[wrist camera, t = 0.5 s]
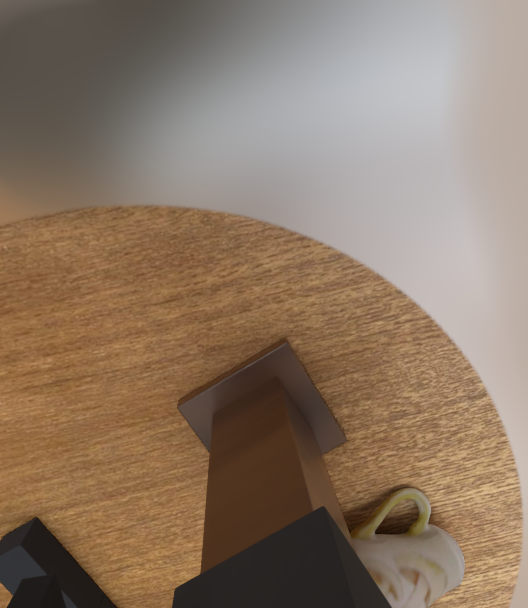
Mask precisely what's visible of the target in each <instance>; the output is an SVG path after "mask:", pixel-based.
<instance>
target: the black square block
mask: <svg viewBox="0 0 528 608" xmlns="http://www.w3.org/2000/svg"><path fill="white" fill-rule="evenodd" d="M172 608H392V607H391V605H390V604H389V602H388V601H387V599H386V598H385V596H384V595H383V593H382V592H381V590H380V589H379V587H378V586H377V584H376V583H375V581H374V580H373V578H372V577H371V575H370V574H369V572H368V571H367V569H366V568H365V566H364V565H363V563H362V562H361V560H360V559H359V557H358V556H357V554H356V553H355V551H354V550H353V548H352V547H351V545H350V544H349V542H348V541H347V539H346V538H345V536H344V535H343V533H342V532H341V530H340V528H339V527H338V525H337V524H336V522H335V521H334V519H333V518H332V516H331V515H330V513H329V512H328V510H327V509H326V508H325V507H324V506H321V507H320V508H318V509H316V510H314V511H312V512H311V513H309V514H307V515H305V516H303V517H302V518H300V519H298V520H296V521H295V522H293V523H291V524H289V525H287V526H286V527H284V528H282V529H280V530H278V531H277V532H275V533H273V534H271V535H270V536H268V537H266V538H264V539H262V540H261V541H259V542H257V543H255V544H253V545H252V546H250V547H248V548H246V549H245V550H243V551H241V552H239V553H237V554H236V555H234V556H232V557H230V558H228V559H227V560H225V561H223V562H221V563H220V564H218V565H216V566H214V567H212V568H211V569H209V570H207V571H205V572H203V573H202V574H200V575H198V576H196V577H195V578H193V579H191V580H189V581H187V582H186V583H184V584H182V585H180V586H178V587H177V588H176V589H175V591H174V599H173V606H172Z"/></svg>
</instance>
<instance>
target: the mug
mask: <svg viewBox="0 0 528 608" xmlns="http://www.w3.org/2000/svg"><path fill="white" fill-rule="evenodd" d="M405 499H412V500H414V501H415V502H416V504H417V506H418V509H419V518H418V519H417V521H416V522H414V523H413V524H412V525H411V526H410V528H409V530H408V531H407V532H406V533H403V534H397V535H386V534H375V530H376V529H377V527H378V526H379V525H380V523H381V522H382V521H383V519H384V518H385V516H386V515H387V514H388V513H389V511H390V510H391V509H392V508H393V507H394V506H395V505H396V504H397V503H398V502H400V501H401V500H405ZM430 514H431V506H430V502H429V499H428V498H427V497H426V496H425V495H424V493H423V492H421V491H419V490H418V489H415V488H405V489H400V490H398V491H396V492H394V493H393V494H391V495H390V496H389V497H388V498H387V499H386V500H385V501H384V502H383V503H382V504H381V505H380V506H379V508H378V509H377V510H376V511H375V512H374V513H373V514H372V515H371V516H370V517H369V518H368V519H367V520H366V521H365V522H363V523H362V524H361V525H359V526H358V527H356V528H355V529H354V530H352V532H351V533H350V536H351V539H352V542H353V544H354V547H355V550H356V553H357V556H358V557H359V559H360V560H361V562H362V563H363V565H364V566H365V568H366V569H367V571H368V572H369V574H370V575H371V577H372V578H373V580H374V581H375V583H376V584H377V586H378V587H379V589H380V590H381V592H382V593H383V595H384V596H385V598H386V599H387V601H388V602H389V604H390V605H391V607H392V608H429V607H430V605H431V604H432V603H433V602H434V601H435V600H436V599H438V598H439V597H440V596H442V595H443V594H445V593H446V592H448V591H450V590H452V589H453V588H455V587H457V586H459V585H460V583H461V582H462V580H463V576H464V569H465V561H464V556H463V553H462V550H461V548H460V547H459V545H458V543H457V542H456V541H455V539H454V538H453V537H452V536H451V535H450V534H449V533H448V532H446V531H445V530H443V529H441V528H439V527H437V526H435V525H431V524H428V520H429V517H430Z"/></svg>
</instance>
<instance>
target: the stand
mask: <svg viewBox="0 0 528 608" xmlns="http://www.w3.org/2000/svg"><path fill="white" fill-rule="evenodd" d="M177 408H178V410H179V411H180V413H181V414H182V415H183V417H184V418H185V419H186V421H187V422H188V424H189V425H190V426H191V428H192V429H193V431H194V432H195V433H196V435H197V436H198V437H199V439H200V440H201V442H202V443H203V444H204V446H205V447H206V449H207V450H208V451H209V453H210V456H209V469H208V482H207V495H206V508H205V521H204V535H203V548H202V561H201V574H202V573H203V572H205V571H207V570H209V569H211V568H212V567H214V566H216V565H218V564H220V563H221V562H223V561H225V560H227V559H228V558H230V557H232V556H234V555H236V554H237V553H239V552H241V551H243V550H245V549H246V548H248V547H250V546H252V545H253V544H255V543H257V542H259V541H261V540H262V539H264V538H266V537H268V536H270V535H271V534H273V533H275V532H277V531H278V530H280V529H282V528H284V527H286V526H287V525H289V524H291V523H293V522H295V521H296V520H298V519H300V518H302V517H303V516H305V515H307V514H309V513H311V512H312V511H314V510H316V509H318V508H320V507H321V506H324V507H325V508H326V509H327V510H328V512H329V513H330V515H331V516H332V518H333V519H334V521H335V522H336V524H337V525H338V527H339V528H340V530H341V532H342V533H343V535H344V536H345V538H346V539H347V541H348V542H349V544H350V545H351V547H352V548H353V550H354V551H355V553H356V550H355V547H354V544H353V542H352V539H351V536H350V533H349V530H348V527H347V525H346V522H345V519H344V516H343V513H342V510H341V507H340V505H339V502H338V499H337V496H336V493H335V490H334V488H333V485H332V482H331V479H330V476H329V473H328V471H327V468H326V465H325V462H324V459H323V456H322V455H323V454H325V453H327V452H328V451H330V450H332V449H334V448H335V447H337V446H339V445H341V444H343V443H344V442H346V441H347V438H346V436H345V434H344V432H343V430H342V429H341V427H340V425H339V424H338V422H337V420H336V419H335V417H334V416H333V414H332V412H331V411H330V409H329V407H328V406H327V404H326V403H325V401H324V399H323V398H322V396H321V395H320V393H319V391H318V390H317V388H316V386H315V385H314V383H313V382H312V380H311V378H310V377H309V375H308V373H307V372H306V370H305V369H304V367H303V365H302V364H301V362H300V360H299V359H298V357H297V356H296V354H295V352H294V351H293V349H292V348H291V346H290V344H289V343H288V341H287V339H286V338H284V339H282V340H281V341H279V342H277V343H275V344H274V345H272V346H270V347H269V348H267V349H265V350H264V351H262V352H260V353H258V354H257V355H255V356H253V357H252V358H250V359H248V360H247V361H245V362H243V363H241V364H240V365H238V366H236V367H235V368H233V369H231V370H230V371H228V372H226V373H225V374H223V375H221V376H219V377H218V378H216V379H214V380H213V381H211V382H209V383H208V384H206V385H204V386H202V387H201V388H199V389H197V390H196V391H194V392H192V393H191V394H189V395H187V396H186V397H184V398H182V399H180V400H179V401H178V405H177ZM356 554H357V553H356Z"/></svg>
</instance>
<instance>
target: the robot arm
mask: <svg viewBox="0 0 528 608" xmlns="http://www.w3.org/2000/svg"><path fill="white" fill-rule="evenodd" d="M7 608H66V605H65V602H64V598H63V595H62V592H61V588H60V585H59V582H58V579H57V575H56V574H50V575H44V576H38V577H32V578H26V579H22V580H21V582H20V584H19V586H18V588H17V590H16V592H15V593H14V595H13V597H12V599H11V601H10V603H9V605H8V607H7Z"/></svg>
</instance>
